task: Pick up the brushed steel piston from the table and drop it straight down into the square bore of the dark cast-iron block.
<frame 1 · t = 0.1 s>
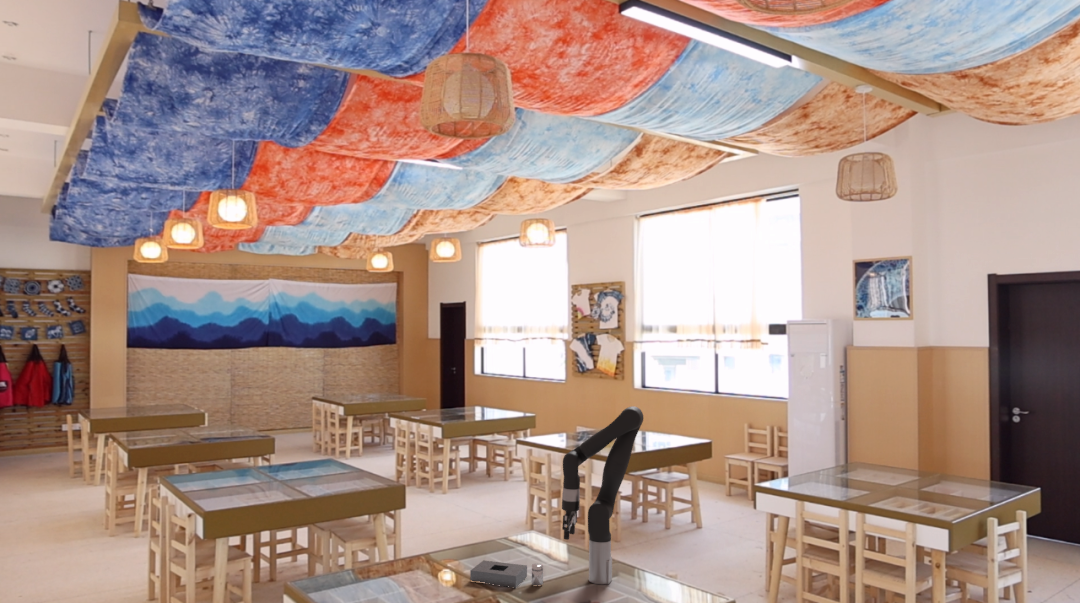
hand: (569, 536, 319), 17 cm above the table, tool pointing down, fingers open, 8 cm apart
piston: (537, 584, 308), on the table
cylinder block: (498, 579, 313), on the table
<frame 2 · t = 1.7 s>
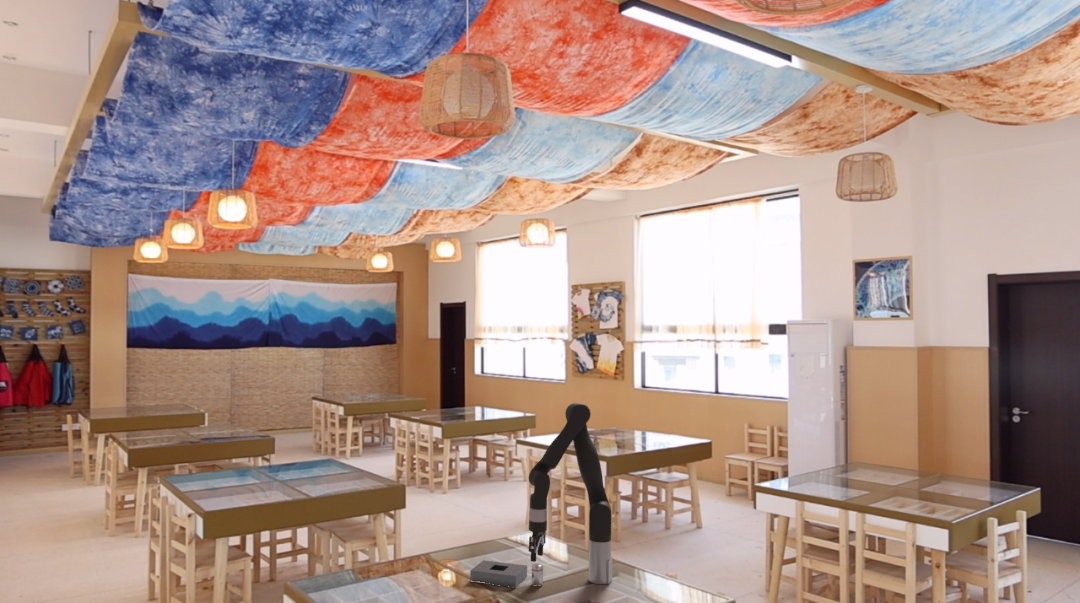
hand: (536, 558, 309), 11 cm above the table, tool pointing down, fingers open, 8 cm apart
nothing on the table moved.
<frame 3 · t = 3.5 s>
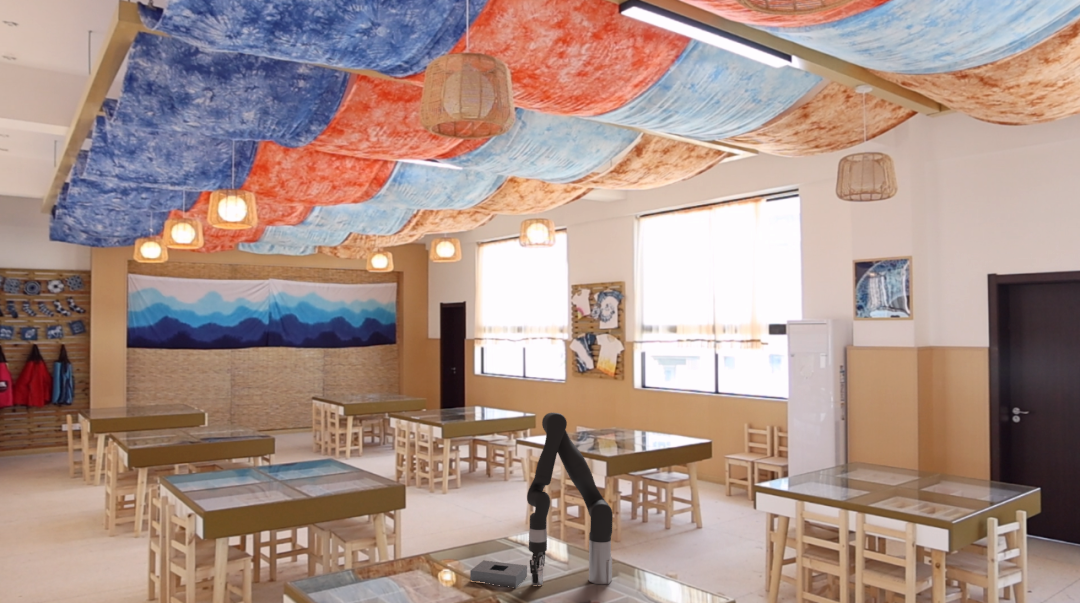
hand: (537, 580, 308), 2 cm above the table, tool pointing down, fingers closed on piston, 4 cm apart
piston: (537, 584, 308), on the table, touching gripper
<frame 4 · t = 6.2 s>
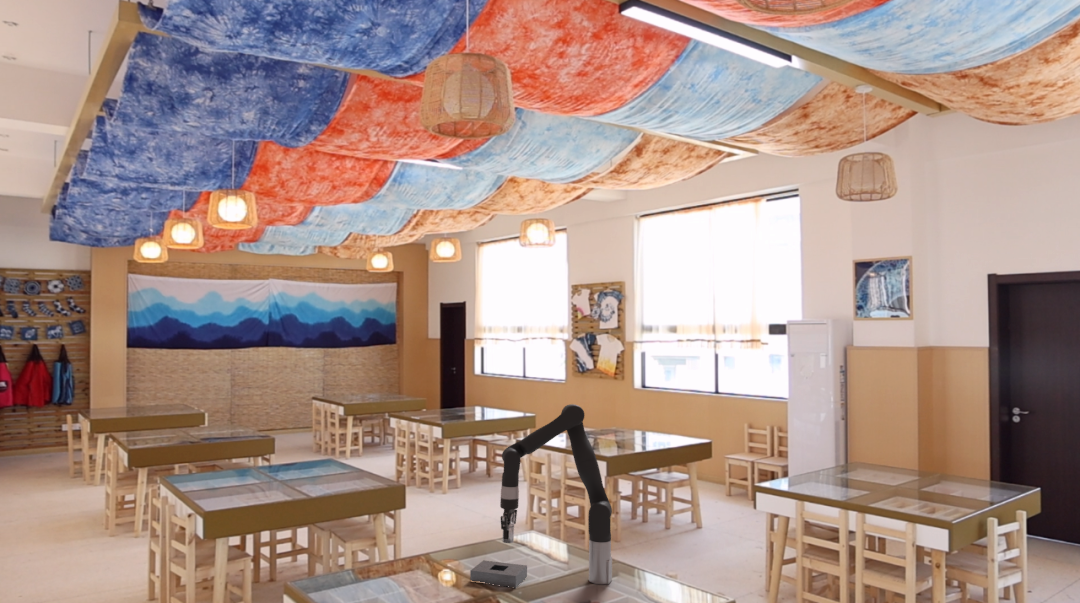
hand: (508, 537, 312), 18 cm above the table, tool pointing down, fingers closed on piston, 4 cm apart
piston: (507, 541, 312), point 16 cm above the table, touching gripper
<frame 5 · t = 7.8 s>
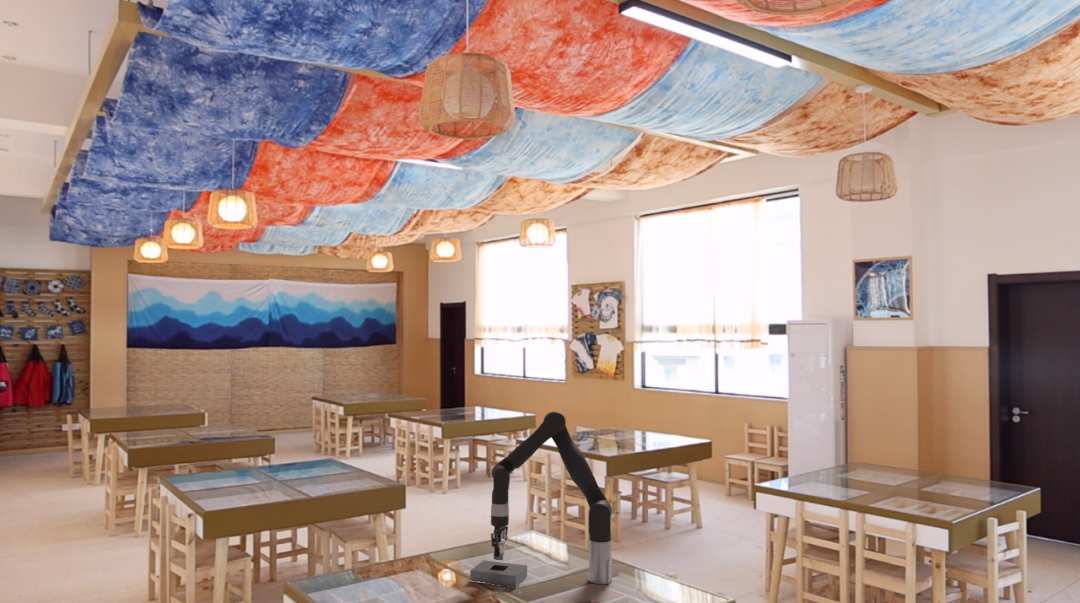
hand: (499, 554, 314), 11 cm above the table, tool pointing down, fingers closed on piston, 4 cm apart
piston: (499, 558, 314), point 9 cm above the table, touching gripper
when the fingers open (8 cm above the table, at t = 9.1 s): piston drops 7 cm, resting in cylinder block.
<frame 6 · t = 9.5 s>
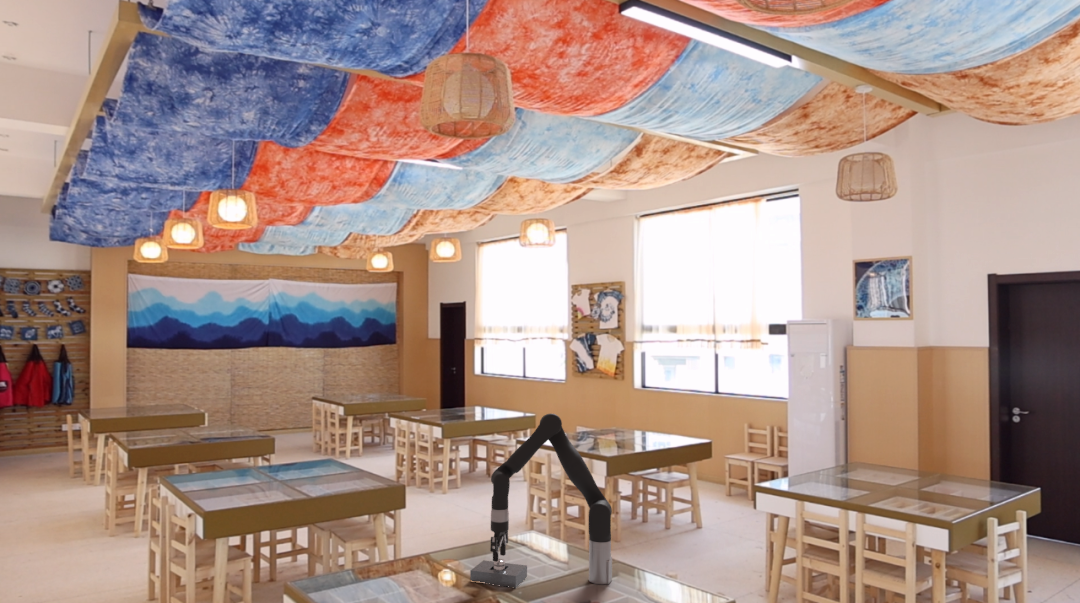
hand: (499, 558, 314), 9 cm above the table, tool pointing down, fingers open, 8 cm apart
piston: (499, 579, 314), resting in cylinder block
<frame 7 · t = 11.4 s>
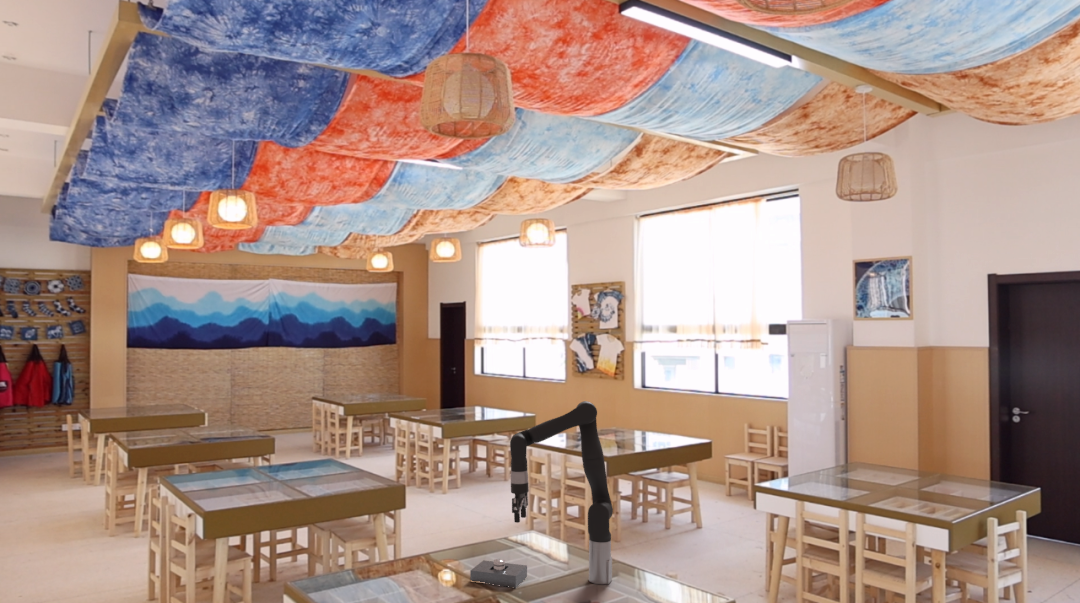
hand: (520, 519, 317), 24 cm above the table, tool pointing down, fingers open, 8 cm apart
nothing on the table moved.
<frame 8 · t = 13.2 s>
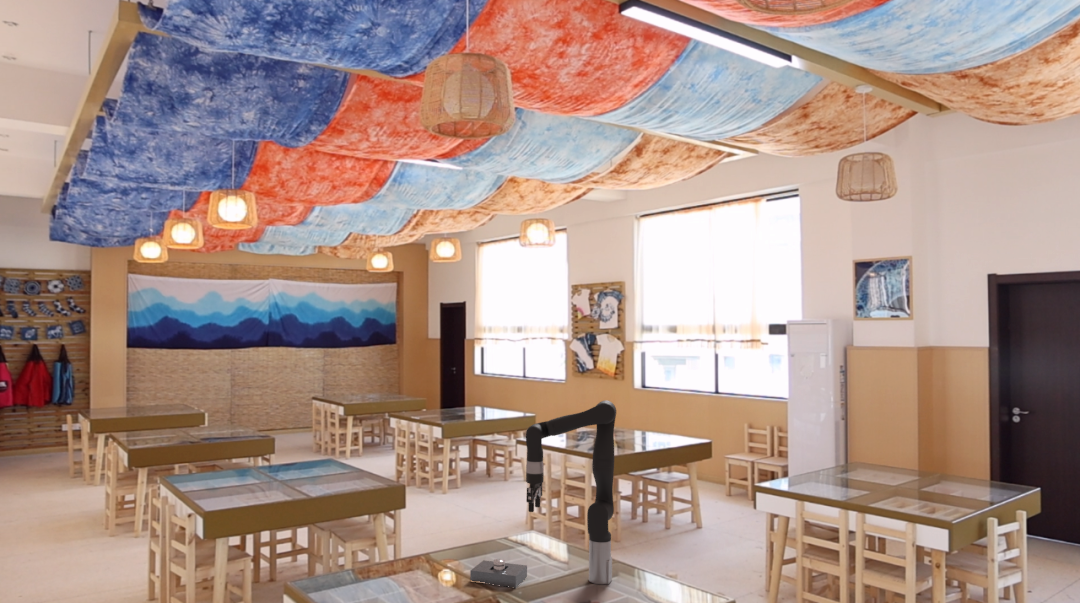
hand: (534, 509, 320), 28 cm above the table, tool pointing down, fingers open, 8 cm apart
nothing on the table moved.
at the end: piston 0.2 cm off-centre on the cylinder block, point 0.0 cm above the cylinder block's base; piston tilted 0°; the gripper is holding nothing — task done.
